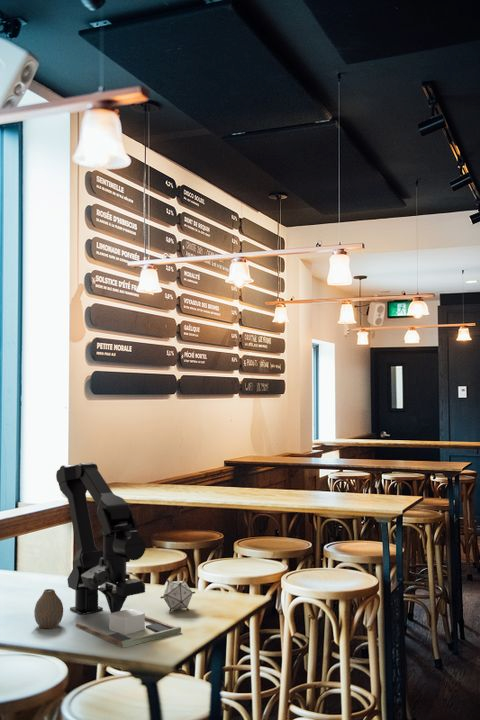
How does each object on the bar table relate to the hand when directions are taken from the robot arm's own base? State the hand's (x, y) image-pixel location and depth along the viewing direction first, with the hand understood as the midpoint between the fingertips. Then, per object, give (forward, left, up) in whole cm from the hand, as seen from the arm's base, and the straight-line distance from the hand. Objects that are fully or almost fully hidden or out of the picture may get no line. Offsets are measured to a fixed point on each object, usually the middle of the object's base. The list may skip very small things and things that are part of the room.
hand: (114, 617), depth 189 cm
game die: (+1, +19, -2) cm, 19 cm away
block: (+6, 0, -2) cm, 6 cm away
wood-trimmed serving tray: (+6, 0, -2) cm, 6 cm away
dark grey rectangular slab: (+11, 0, -2) cm, 11 cm away
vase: (-9, -13, -2) cm, 16 cm away
